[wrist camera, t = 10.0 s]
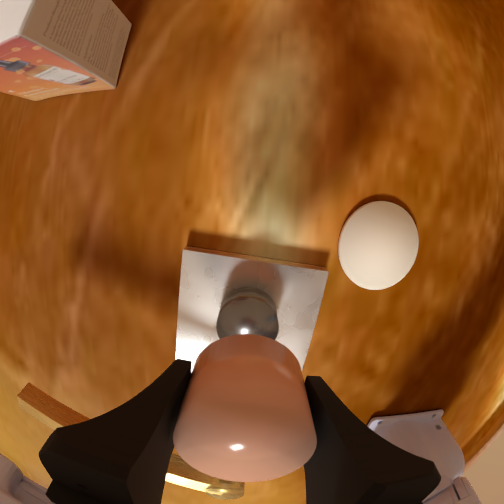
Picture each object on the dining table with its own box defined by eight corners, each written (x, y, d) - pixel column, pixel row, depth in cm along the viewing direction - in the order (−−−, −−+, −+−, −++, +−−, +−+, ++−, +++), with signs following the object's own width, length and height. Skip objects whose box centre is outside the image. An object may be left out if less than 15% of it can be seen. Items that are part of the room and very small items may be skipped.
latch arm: (250, 469, 14) (250, 488, 13) (237, 483, 15) (236, 502, 13) (28, 376, 13) (15, 389, 11) (31, 398, 14) (20, 411, 12)
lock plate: (325, 266, 19) (361, 313, 12) (277, 432, 23) (282, 494, 16) (186, 245, 18) (150, 284, 12) (177, 420, 22) (160, 480, 15)
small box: (36, 102, 16) (-63, 82, 5) (52, 41, 14) (-30, 0, 4) (118, 90, 16) (16, 37, 6) (135, 23, 14) (64, -56, 4)
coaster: (423, 211, 18) (426, 211, 17) (403, 291, 19) (405, 294, 19) (347, 192, 17) (349, 192, 17) (328, 282, 19) (330, 284, 19)
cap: (313, 341, 11) (336, 407, 8) (288, 420, 13) (296, 484, 9) (195, 325, 11) (172, 389, 7) (190, 408, 12) (174, 471, 9)
